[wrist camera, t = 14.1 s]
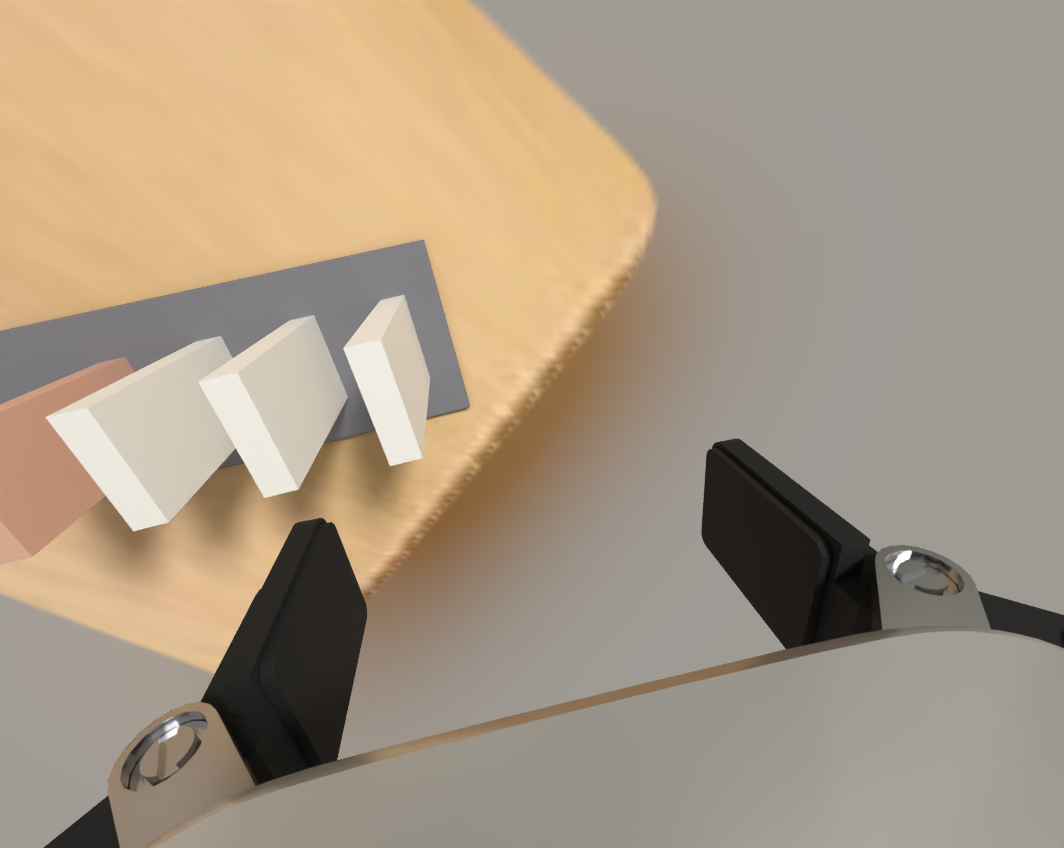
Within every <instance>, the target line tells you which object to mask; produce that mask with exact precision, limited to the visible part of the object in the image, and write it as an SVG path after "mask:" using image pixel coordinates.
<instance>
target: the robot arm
mask: <svg viewBox="0 0 1064 848" xmlns="http://www.w3.org/2000/svg"><path fill="white" fill-rule="evenodd" d="M706 458H707V459H706V472H705V487H704V503H703V517H702V538H703V541H704V543H705V545H706V546H707V548H708V549H709V550H710V552H711V553H712V554H713V556H714V557H715V558H716V559H717V560H718V562H719V563H720V565H721V566H722V567H723V568H724V570H725V571H726V572H727V574H728V575H729V576H730V577H731V579H732V580H733V581H734V582H735V584H736V585H737V586H738V588H739V589H740V590H741V592H742V593H743V594H744V595H745V597H746V598H747V599H748V601H749V602H750V603H751V605H752V606H753V607H754V608H755V610H756V611H757V612H758V614H759V615H760V616H761V617H762V619H763V620H764V621H765V623H766V624H767V625H768V626H769V628H770V629H771V630H772V632H773V633H774V634H775V635H776V637H777V638H778V639H779V641H780V642H781V643H782V644H783V646H784V647H785V648H786V650H782V651H777V652H773V653H769V654H765V655H760V656H756V657H752V658H748V659H744V660H739V661H735V662H731V663H727V664H723V665H719V666H714V667H710V668H706V669H702V670H697V671H693V672H689V673H685V674H681V675H676V676H672V677H668V678H664V679H660V680H656V681H652V682H647V683H643V684H639V685H635V686H631V687H627V688H623V689H619V690H615V691H610V692H606V693H602V694H598V695H594V696H590V697H586V698H582V699H578V700H574V701H570V702H566V703H561V704H557V705H553V706H549V707H545V708H541V709H537V710H533V711H529V712H525V713H520V714H516V715H512V716H508V717H504V718H500V719H497V720H493V721H489V722H485V723H480V724H477V725H472V726H468V727H465V728H460V729H457V730H452V731H448V732H445V733H441V734H437V735H433V736H428V737H424V738H420V739H417V740H412V741H409V742H404V743H401V744H397V745H393V746H389V747H386V748H382V749H378V750H375V751H371V752H367V753H363V754H359V755H356V756H352V757H348V758H344V759H341V760H337V758H338V753H339V748H340V744H341V739H342V734H343V729H344V725H345V720H346V715H347V710H348V706H349V700H350V696H351V691H352V687H353V682H354V677H355V672H356V667H357V663H358V658H359V653H360V648H361V644H362V639H363V634H364V629H365V624H366V620H367V608H366V603H365V600H364V598H363V595H362V593H361V590H360V587H359V585H358V582H357V580H356V577H355V575H354V572H353V570H352V567H351V565H350V562H349V560H348V557H347V555H346V552H345V549H344V547H343V544H342V542H341V539H340V537H339V534H338V532H337V529H336V527H335V525H334V524H333V523H332V522H330V523H327V522H326V521H325V520H324V519H323V518H318V519H313V520H308V521H302V522H298V523H295V525H294V526H293V528H292V530H291V532H290V534H289V536H288V538H287V540H286V541H285V543H284V545H283V547H282V549H281V551H280V553H279V555H278V557H277V559H276V561H275V563H274V565H273V567H272V569H271V571H270V573H269V575H268V577H267V579H266V581H265V583H264V585H263V586H262V588H261V589H260V590H259V591H258V593H257V594H256V596H255V598H254V600H253V601H252V603H251V605H250V607H249V609H248V611H247V613H246V615H245V617H244V619H243V621H242V623H241V625H240V627H239V629H238V630H237V632H236V634H235V636H234V638H233V640H232V642H231V644H230V646H229V648H228V650H227V652H226V654H225V656H224V658H223V659H222V661H221V663H220V665H219V667H218V669H217V671H216V673H215V675H214V677H213V679H212V681H211V683H210V685H209V687H208V689H207V690H206V692H205V695H204V696H203V698H202V700H201V702H197V703H191V704H186V705H183V706H181V707H178V708H176V709H173V710H171V711H169V712H168V713H166V714H164V715H163V716H161V717H160V718H158V719H156V720H155V721H153V722H152V723H151V724H150V725H148V726H147V727H146V728H145V729H144V730H142V731H141V732H140V733H139V734H138V735H137V736H136V737H135V738H134V739H133V740H132V741H131V742H130V743H129V744H128V745H127V746H126V747H125V749H124V750H123V752H122V753H121V755H120V756H119V758H118V759H117V761H116V762H115V764H114V766H113V769H112V771H111V773H110V776H109V778H108V796H107V797H106V798H105V799H103V800H102V801H101V802H100V803H98V804H97V805H96V806H95V807H93V808H92V809H91V810H90V811H89V812H87V813H86V814H85V815H84V816H82V817H81V818H80V819H79V820H77V821H76V822H75V823H74V824H72V825H71V826H70V827H69V828H68V829H66V830H65V831H64V832H62V833H61V834H60V835H59V836H58V837H56V838H55V839H54V840H53V841H51V842H50V843H49V844H48V845H46V846H45V847H44V848H1064V615H1061V614H1058V613H1054V612H1051V611H1047V610H1043V609H1040V608H1036V607H1033V606H1029V605H1026V604H1022V603H1019V602H1015V601H1011V600H1008V599H1004V598H1001V597H997V596H994V595H989V594H986V593H983V592H979V591H977V587H976V585H975V583H974V581H973V579H972V578H971V576H970V575H969V574H968V573H967V572H966V571H965V570H964V569H963V568H962V567H960V566H959V565H957V564H956V563H954V562H953V561H951V560H950V559H948V558H946V557H944V556H942V555H939V554H937V553H935V552H932V551H929V550H926V549H922V548H919V547H912V546H905V545H899V546H889V547H886V548H882V549H881V550H880V551H879V552H877V551H875V550H874V549H873V548H872V547H870V546H869V543H870V539H869V538H868V537H867V536H865V535H864V534H863V533H861V532H860V531H859V530H857V529H856V528H855V527H854V526H852V525H851V524H850V523H848V522H847V521H846V520H844V519H843V518H842V517H841V516H839V515H838V514H837V513H835V512H834V511H833V510H831V509H830V508H829V507H828V506H826V505H825V504H824V503H822V502H821V501H820V500H818V499H817V498H816V497H815V496H813V495H812V494H811V493H809V492H808V491H807V490H805V489H804V488H803V487H801V486H800V485H799V484H798V483H796V482H795V481H794V480H792V479H791V478H790V477H789V476H787V475H786V474H785V473H783V472H782V471H781V470H779V469H778V468H777V467H775V466H774V465H773V464H771V463H770V462H769V461H768V460H766V459H765V458H764V457H762V456H761V455H760V454H759V453H757V452H756V451H755V450H753V449H752V448H751V447H749V446H748V445H747V444H746V443H744V442H743V441H742V440H740V439H731V440H727V441H721V442H716V443H715V444H714V445H713V447H712V449H710V450H708V452H707V457H706Z"/></svg>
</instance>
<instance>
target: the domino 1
mask: <svg viewBox="0 0 1064 848" xmlns="http://www.w3.org/2000/svg"><path fill="white" fill-rule="evenodd" d="M132 373H134V370H133V369H132V367H131V365H130V364H129V362H128V361H127V359H126V357H123V358H119V359H114V360H109V361H105V362H100V363H97V364H95V365H92V366H90V367H88V368H85V369H83V370H81V371H78V372H76V373H74V374H71V375H69V376H66V377H64V378H62V379H59V380H57V381H55V382H52V383H50V384H48V385H45V386H43V387H41V388H38V389H36V390H33V391H31V392H29V393H26V394H24V395H22V396H19V397H17V398H15V399H12V400H10V401H7V402H5V403H3V404H0V564H4V563H8V562H12V561H16V560H20V559H24V558H28V557H32V556H34V555H35V554H36V553H37V552H39V551H40V550H41V549H42V548H43V547H45V546H46V545H47V544H48V543H50V542H51V541H52V540H53V539H54V538H56V537H57V536H58V535H59V534H60V533H62V532H63V531H64V530H65V529H67V528H68V527H69V526H70V525H71V524H73V523H74V522H75V521H76V520H77V519H79V518H80V517H81V516H82V515H84V514H85V513H86V512H87V511H88V510H90V509H91V508H92V507H93V506H94V505H96V504H97V503H98V502H99V501H100V500H102V499H103V498H104V497H105V496H106V495H105V494H104V493H103V491H102V490H101V489H100V487H99V486H98V485H97V484H96V482H95V481H94V480H93V478H92V477H91V476H90V474H89V473H88V472H87V471H86V469H85V468H84V467H83V465H82V464H81V463H80V462H79V460H78V459H77V458H76V456H75V455H74V454H73V452H72V451H71V450H70V449H69V447H68V446H67V445H66V443H65V442H64V441H63V440H62V438H61V437H60V436H59V434H58V433H57V432H56V431H55V429H54V428H53V427H52V425H51V424H50V423H49V421H48V420H47V419H46V418H45V417H47V416H49V415H51V414H53V413H55V412H57V411H59V410H61V409H63V408H65V407H67V406H69V405H71V404H73V403H75V402H77V401H79V400H81V399H83V398H85V397H86V396H88V395H90V394H92V393H94V392H96V391H98V390H100V389H102V388H104V387H106V386H108V385H110V384H112V383H114V382H116V381H118V380H120V379H122V378H124V377H126V376H128V375H130V374H132Z"/></svg>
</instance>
